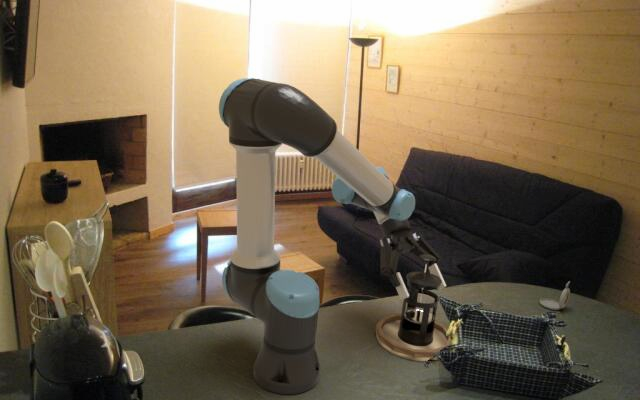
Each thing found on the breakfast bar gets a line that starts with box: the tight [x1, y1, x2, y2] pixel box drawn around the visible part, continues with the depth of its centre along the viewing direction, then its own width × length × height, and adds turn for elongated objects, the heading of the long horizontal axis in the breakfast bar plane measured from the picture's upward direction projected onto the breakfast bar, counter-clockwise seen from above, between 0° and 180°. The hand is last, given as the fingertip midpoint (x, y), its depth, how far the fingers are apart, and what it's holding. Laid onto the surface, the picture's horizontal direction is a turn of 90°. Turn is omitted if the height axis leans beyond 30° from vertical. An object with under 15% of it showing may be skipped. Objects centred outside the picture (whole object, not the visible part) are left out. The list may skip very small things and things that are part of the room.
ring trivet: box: [375, 312, 451, 362], centre depth 140 cm, size 20×20×2 cm
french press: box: [398, 254, 442, 346], centre depth 137 cm, size 12×9×23 cm
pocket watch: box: [539, 280, 571, 311], centre depth 166 cm, size 8×8×10 cm
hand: (424, 293), depth 135 cm, fingers open, 13 cm apart
